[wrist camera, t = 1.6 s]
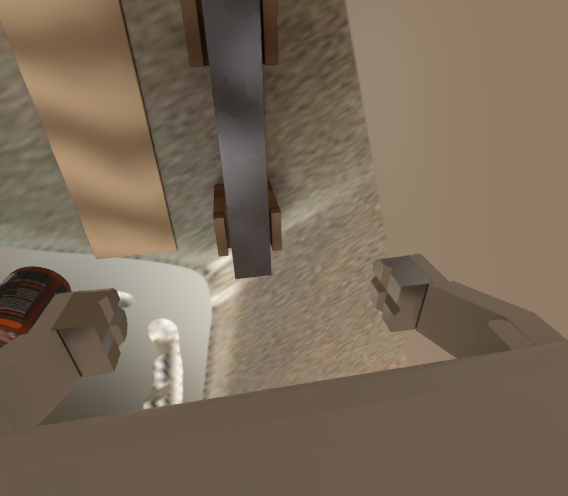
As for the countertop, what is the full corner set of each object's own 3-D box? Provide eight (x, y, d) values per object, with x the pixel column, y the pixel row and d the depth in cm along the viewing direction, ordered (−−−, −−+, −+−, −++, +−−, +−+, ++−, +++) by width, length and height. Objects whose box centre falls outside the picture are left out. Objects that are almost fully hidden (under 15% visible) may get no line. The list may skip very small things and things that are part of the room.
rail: (199, -33, 18) (195, -46, 15) (252, -32, 18) (257, -44, 16) (233, 258, 29) (235, 279, 26) (267, 255, 29) (271, 274, 27)
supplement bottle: (-5, 269, 32) (-99, 363, 22) (58, 259, 32) (-8, 346, 23) (26, 312, 35) (-44, 410, 26) (83, 302, 36) (34, 394, 26)
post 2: (214, 185, 31) (213, 218, 25) (269, 181, 32) (280, 212, 26) (218, 218, 33) (219, 256, 27) (270, 213, 34) (281, 249, 28)
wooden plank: (-29, -59, 20) (-33, -61, 20) (106, -56, 21) (104, -57, 21) (97, 256, 33) (96, 259, 33) (177, 248, 34) (176, 251, 34)
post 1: (189, 5, 23) (179, -9, 17) (262, 5, 24) (276, -8, 18) (197, 61, 25) (190, 66, 19) (264, 60, 26) (277, 64, 20)
